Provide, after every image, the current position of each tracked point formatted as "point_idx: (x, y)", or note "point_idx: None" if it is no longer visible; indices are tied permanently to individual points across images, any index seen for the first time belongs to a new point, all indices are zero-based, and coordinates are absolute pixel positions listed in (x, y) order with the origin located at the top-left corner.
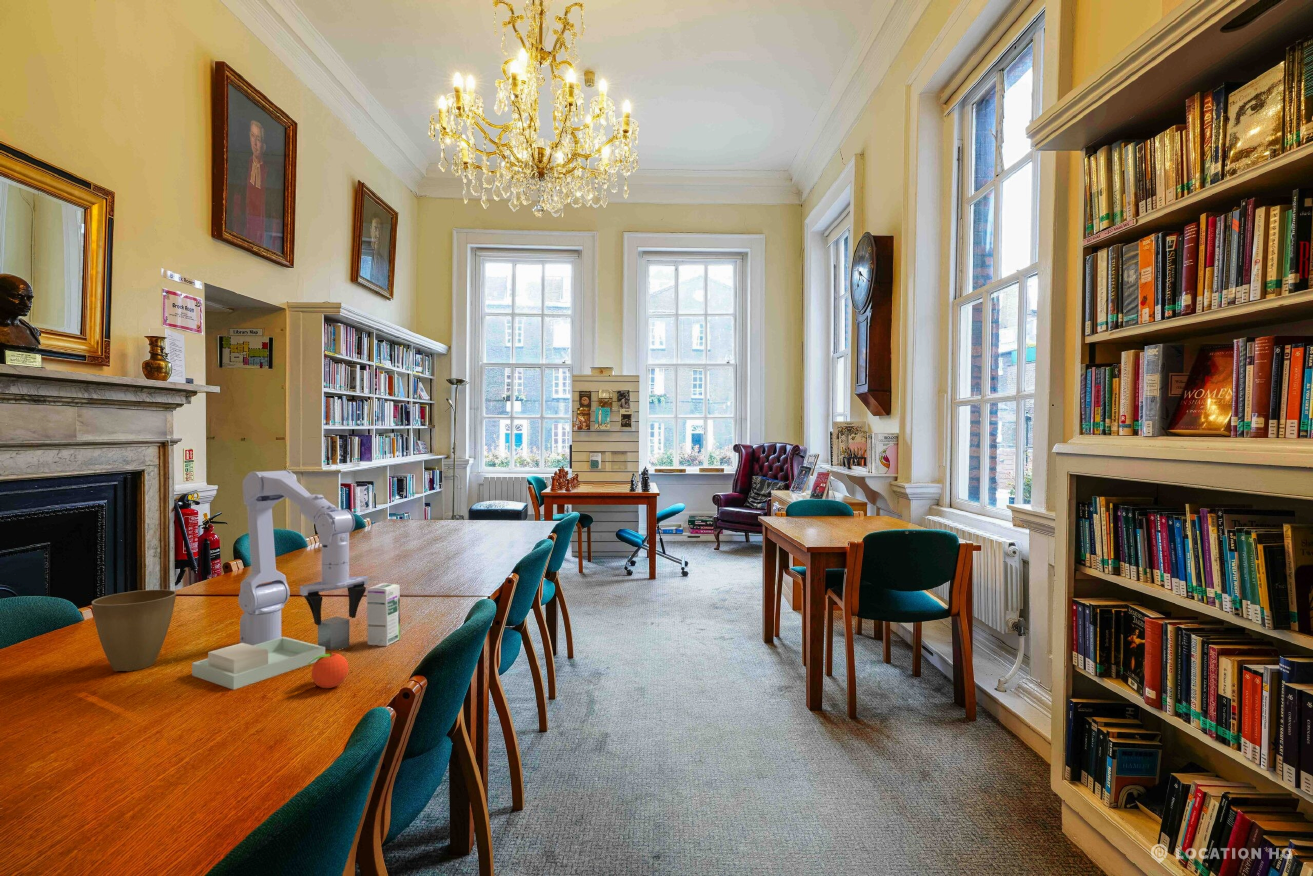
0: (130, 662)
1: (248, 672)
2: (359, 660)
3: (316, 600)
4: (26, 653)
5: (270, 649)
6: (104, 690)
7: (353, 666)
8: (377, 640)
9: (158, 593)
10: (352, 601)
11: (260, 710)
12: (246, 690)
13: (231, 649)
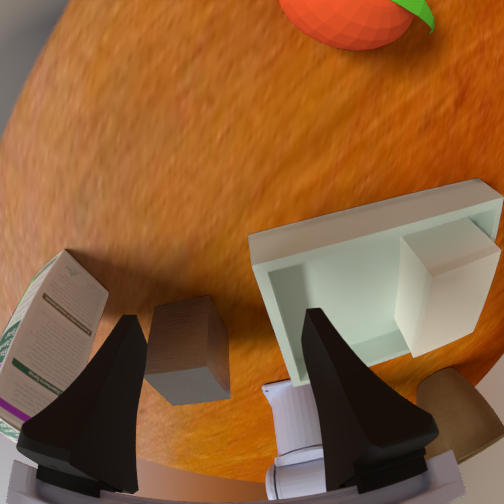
0: (457, 374)
1: (479, 202)
2: (154, 179)
3: (404, 420)
4: None
5: None
6: (497, 321)
7: (189, 131)
8: (81, 279)
9: None
10: (118, 402)
11: (485, 29)
12: (460, 175)
13: (453, 327)
